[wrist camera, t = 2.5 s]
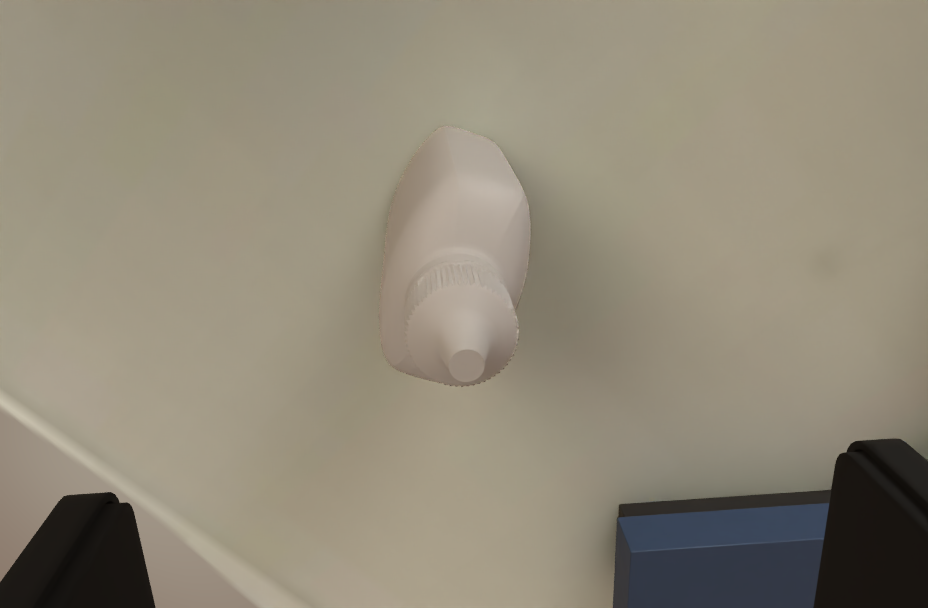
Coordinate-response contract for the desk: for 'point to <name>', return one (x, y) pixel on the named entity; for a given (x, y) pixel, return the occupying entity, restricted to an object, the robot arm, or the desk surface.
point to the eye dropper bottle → (454, 261)
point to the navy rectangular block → (721, 552)
